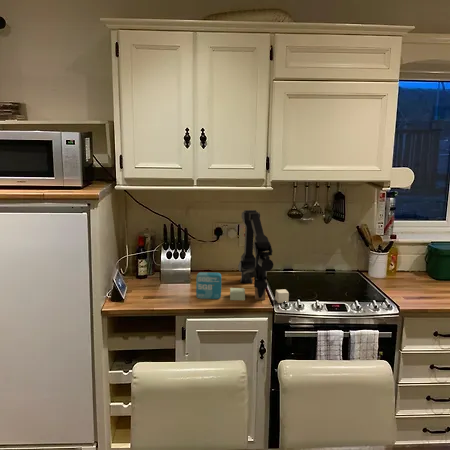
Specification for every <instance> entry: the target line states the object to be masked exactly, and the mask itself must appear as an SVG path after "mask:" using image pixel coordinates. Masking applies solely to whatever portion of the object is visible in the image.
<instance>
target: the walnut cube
mask: <svg viewBox="0 0 450 450" xmlns="http://www.w3.org/2000/svg"><path fill="white" fill-rule="evenodd" d="M255 299H257V300H260V301H265V300H266V289H265V291H264V293H263V295H262V297H261V298H259V295H258V290H257V288H255V287H254V300H255Z"/></svg>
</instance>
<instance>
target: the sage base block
mask: <svg viewBox="0 0 450 450" xmlns="http://www.w3.org/2000/svg"><path fill="white" fill-rule="evenodd" d="M229 299H230V301H246V290H245V288H244V287H230V288H229Z"/></svg>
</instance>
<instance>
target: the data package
mask: <svg viewBox="0 0 450 450" xmlns="http://www.w3.org/2000/svg"><path fill="white" fill-rule="evenodd" d="M195 281H196V282H195V285H196V289H195V295H196V298H197V299H202V300H203V299H205V300H208V299H209V300H219V299H220V298H221V296H222V274H221V273H220V272H209V271H208V272H206V271H205V272H204V271H203V272H202V271H200V272H198V273H197V274H196V280H195Z"/></svg>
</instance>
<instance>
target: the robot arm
mask: <svg viewBox="0 0 450 450" xmlns="http://www.w3.org/2000/svg"><path fill="white" fill-rule="evenodd" d="M241 219H242V222H243V224H244V227H245V228H244V248H243V250H244V251H243V254H242V255H241V256H240V260H239V263H238V266H237V267H238V271H239V272H240V273H241V275H240V276H241V277H240V283H241V284H253V287H254V289H255V288H257V290H258V295H259V298H261V297H262V295H263V293H264V291H265V290H266V289H267V288H268V281H267V280H268V279H267V277H268V275H267V273H268V272H270V271H271V270H273V268H274V262H273V260H272V259H271V258H270V256H273V248H272V244H271V242H270V239H269V238H268V237H267V235H266V234H264V233H265V232H264V230H263V229H264V228H263V226H262V221H261V214H260V212H259V211H257V209H244V210H243V211H242V212H241ZM253 280H254V282H253ZM265 292H266V291H265Z"/></svg>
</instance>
